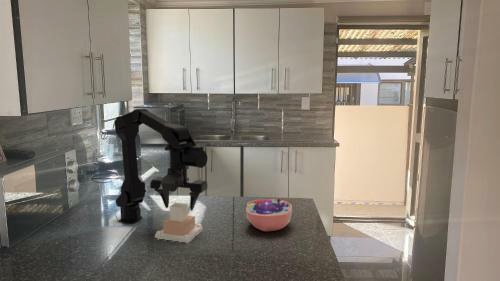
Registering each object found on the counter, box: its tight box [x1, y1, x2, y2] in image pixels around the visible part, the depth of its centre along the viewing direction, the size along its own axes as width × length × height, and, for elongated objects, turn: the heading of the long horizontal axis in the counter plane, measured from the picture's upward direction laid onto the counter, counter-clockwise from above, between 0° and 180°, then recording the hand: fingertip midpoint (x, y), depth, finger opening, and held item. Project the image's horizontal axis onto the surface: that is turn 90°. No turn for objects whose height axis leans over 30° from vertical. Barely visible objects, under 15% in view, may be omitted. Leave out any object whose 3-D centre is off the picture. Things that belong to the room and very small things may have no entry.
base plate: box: [154, 215, 204, 244], centre depth 127 cm, size 12×12×6 cm
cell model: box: [245, 198, 293, 232], centre depth 134 cm, size 17×20×11 cm
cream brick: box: [169, 202, 189, 222], centre depth 127 cm, size 4×4×5 cm
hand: (179, 209), depth 126 cm, fingers open, 9 cm apart
